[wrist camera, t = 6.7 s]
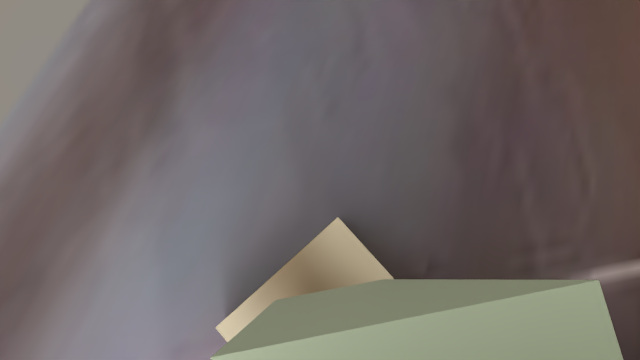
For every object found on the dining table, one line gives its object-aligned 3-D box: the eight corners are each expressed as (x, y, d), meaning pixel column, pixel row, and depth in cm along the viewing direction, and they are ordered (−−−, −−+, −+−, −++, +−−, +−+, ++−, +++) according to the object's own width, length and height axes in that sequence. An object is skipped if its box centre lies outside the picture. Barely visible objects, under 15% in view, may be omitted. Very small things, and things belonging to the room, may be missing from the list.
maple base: (323, 436, 21) (327, 463, 18) (226, 320, 21) (215, 327, 19) (428, 330, 22) (448, 338, 19) (332, 224, 23) (338, 217, 20)
